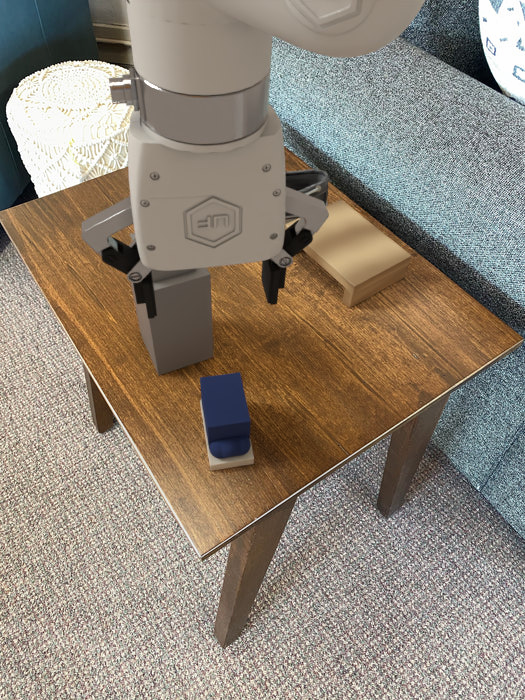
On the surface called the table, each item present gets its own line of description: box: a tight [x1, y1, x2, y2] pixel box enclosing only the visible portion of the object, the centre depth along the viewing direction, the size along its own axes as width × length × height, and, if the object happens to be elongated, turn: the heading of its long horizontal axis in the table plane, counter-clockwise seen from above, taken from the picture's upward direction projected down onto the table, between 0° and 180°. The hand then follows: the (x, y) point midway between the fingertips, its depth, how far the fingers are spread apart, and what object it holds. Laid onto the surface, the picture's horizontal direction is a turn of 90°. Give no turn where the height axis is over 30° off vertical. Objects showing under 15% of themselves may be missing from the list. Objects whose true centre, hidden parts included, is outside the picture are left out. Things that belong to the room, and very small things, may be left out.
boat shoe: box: [285, 168, 330, 224], centre depth 79 cm, size 24×9×8 cm, turn 101°
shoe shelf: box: [285, 199, 412, 309], centre depth 76 cm, size 14×10×4 cm
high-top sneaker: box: [199, 371, 255, 471], centre depth 58 cm, size 8×4×6 cm, turn 11°
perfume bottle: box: [129, 232, 214, 376], centre depth 60 cm, size 7×7×18 cm
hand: (211, 298), depth 46 cm, fingers open, 9 cm apart
